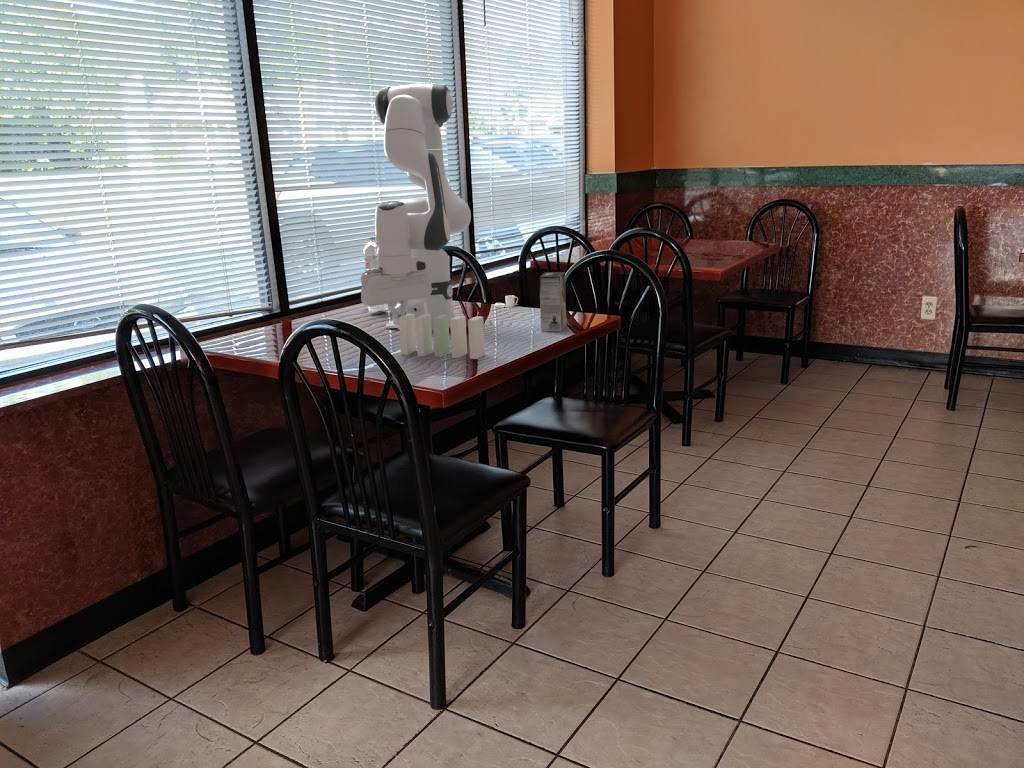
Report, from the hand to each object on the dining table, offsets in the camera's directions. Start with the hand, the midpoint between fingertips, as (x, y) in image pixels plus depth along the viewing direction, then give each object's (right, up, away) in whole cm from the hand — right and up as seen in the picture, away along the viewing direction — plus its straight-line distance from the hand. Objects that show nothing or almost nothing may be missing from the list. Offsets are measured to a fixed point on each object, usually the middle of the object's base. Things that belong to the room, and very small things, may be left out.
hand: (398, 318), depth 218 cm
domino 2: (+7, -9, 0) cm, 12 cm away
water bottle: (-16, +8, +66) cm, 68 cm away
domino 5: (+21, -10, -5) cm, 24 cm away
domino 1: (+2, -9, +2) cm, 9 cm away
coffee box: (+42, -1, +26) cm, 49 cm away
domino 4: (+16, -10, -4) cm, 19 cm away
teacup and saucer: (+27, +9, +66) cm, 72 cm away
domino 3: (+12, -10, -2) cm, 15 cm away
